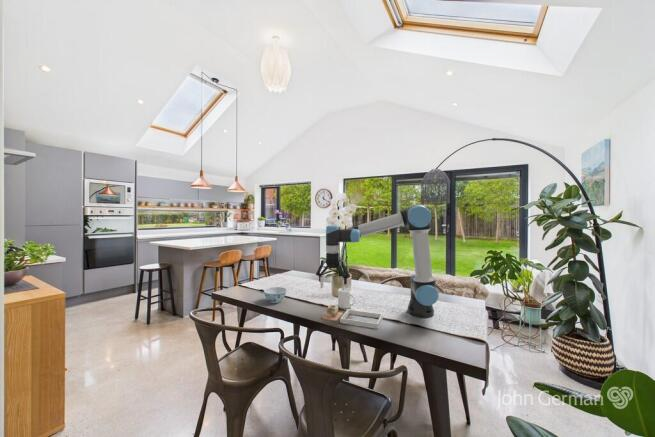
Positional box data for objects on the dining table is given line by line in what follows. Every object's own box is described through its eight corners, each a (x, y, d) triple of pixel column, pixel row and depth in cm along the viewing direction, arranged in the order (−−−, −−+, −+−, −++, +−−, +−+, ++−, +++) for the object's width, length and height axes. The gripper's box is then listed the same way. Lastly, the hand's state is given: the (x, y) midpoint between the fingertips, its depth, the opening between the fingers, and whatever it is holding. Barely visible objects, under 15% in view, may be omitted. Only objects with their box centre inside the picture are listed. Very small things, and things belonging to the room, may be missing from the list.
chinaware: (276, 307, 173) (276, 295, 173) (259, 302, 181) (259, 291, 181) (291, 300, 186) (291, 289, 186) (274, 296, 194) (274, 285, 194)
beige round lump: (338, 314, 160) (338, 305, 160) (335, 317, 156) (335, 308, 155) (330, 313, 162) (330, 304, 162) (327, 316, 158) (327, 307, 157)
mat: (343, 313, 163) (343, 312, 163) (336, 321, 152) (336, 320, 152) (329, 311, 166) (329, 310, 166) (321, 318, 155) (321, 318, 155)
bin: (382, 318, 156) (382, 313, 156) (377, 328, 142) (377, 324, 142) (348, 313, 163) (348, 309, 163) (340, 322, 149) (340, 318, 149)
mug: (350, 311, 166) (350, 293, 166) (335, 306, 174) (335, 290, 174) (358, 307, 173) (358, 290, 172) (343, 303, 181) (343, 287, 180)
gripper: (355, 252, 156) (355, 288, 157) (315, 250, 166) (315, 284, 166) (351, 254, 149) (351, 292, 150) (310, 252, 159) (310, 288, 159)
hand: (332, 288), depth 158 cm, fingers open, 13 cm apart
